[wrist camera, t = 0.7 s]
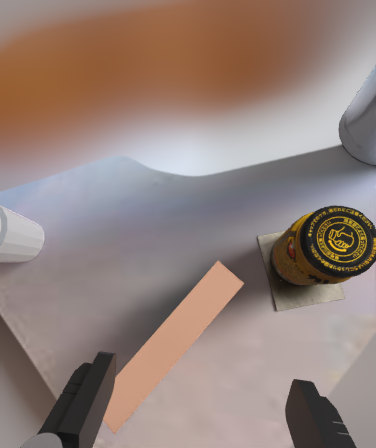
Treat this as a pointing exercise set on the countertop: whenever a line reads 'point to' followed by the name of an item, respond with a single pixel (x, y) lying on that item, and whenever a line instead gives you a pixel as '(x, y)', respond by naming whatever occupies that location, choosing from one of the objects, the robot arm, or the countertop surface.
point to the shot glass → (19, 237)
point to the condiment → (318, 256)
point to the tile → (170, 343)
